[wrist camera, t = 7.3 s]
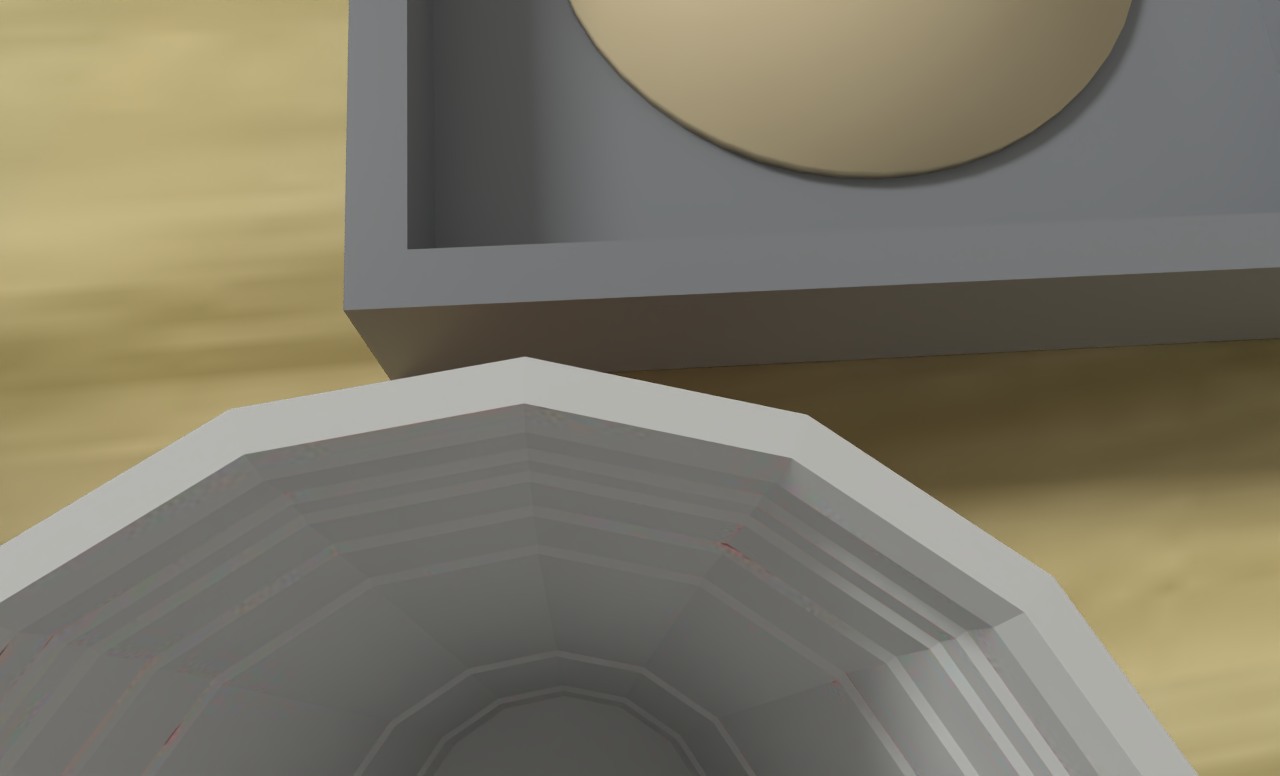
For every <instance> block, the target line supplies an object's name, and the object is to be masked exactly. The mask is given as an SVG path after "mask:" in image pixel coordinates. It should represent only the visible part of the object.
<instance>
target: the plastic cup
mask: <svg viewBox="0 0 1280 776" xmlns="http://www.w3.org/2000/svg"><path fill="white" fill-rule="evenodd" d="M0 776H1198V774H1197V773H1196V772H1195V770H1194V769H1193V768H1192V766H1191V765H1190V763H1189V762H1188V761H1187V759H1186V758H1185V757H1184V755H1183V754H1182V752H1181V751H1180V750H1179V748H1178V747H1177V746H1176V744H1175V743H1174V741H1173V740H1172V739H1171V737H1170V736H1169V735H1168V733H1167V732H1166V731H1165V729H1164V728H1163V726H1162V725H1161V724H1160V722H1159V721H1158V720H1157V718H1156V717H1155V715H1154V714H1153V713H1152V711H1151V710H1150V709H1149V707H1148V706H1147V704H1146V703H1145V702H1144V700H1143V699H1142V698H1141V696H1140V695H1139V693H1138V692H1137V691H1136V689H1135V688H1134V687H1133V685H1132V684H1131V682H1130V681H1129V680H1128V678H1127V677H1126V676H1125V674H1124V673H1123V671H1122V670H1121V669H1120V667H1119V666H1118V665H1117V663H1116V662H1115V660H1114V659H1113V658H1112V656H1111V655H1110V654H1109V652H1108V651H1107V650H1106V648H1105V647H1104V645H1103V644H1102V643H1101V641H1100V640H1099V639H1098V637H1097V636H1096V634H1095V633H1094V632H1093V630H1092V629H1091V628H1090V626H1089V625H1088V623H1087V622H1086V621H1085V619H1084V618H1083V617H1082V615H1081V614H1080V612H1079V611H1078V610H1077V608H1076V607H1075V606H1074V604H1073V603H1072V601H1071V600H1070V599H1069V597H1068V596H1067V595H1066V593H1065V592H1064V590H1063V589H1062V588H1061V586H1060V585H1059V584H1058V582H1057V581H1056V579H1055V578H1054V577H1053V576H1052V575H1050V574H1049V573H1047V572H1046V571H1044V570H1043V569H1041V568H1039V567H1038V566H1036V565H1035V564H1033V563H1032V562H1030V561H1029V560H1027V559H1026V558H1024V557H1023V556H1021V555H1020V554H1018V553H1017V552H1015V551H1014V550H1012V549H1011V548H1009V547H1008V546H1006V545H1005V544H1003V543H1001V542H1000V541H998V540H997V539H995V538H994V537H992V536H991V535H989V534H988V533H986V532H985V531H983V530H982V529H980V528H979V527H977V526H976V525H974V524H973V523H971V522H970V521H968V520H967V519H965V518H963V517H962V516H960V515H959V514H957V513H956V512H954V511H953V510H951V509H950V508H948V507H947V506H945V505H944V504H942V503H941V502H939V501H938V500H936V499H935V498H933V497H932V496H930V495H929V494H927V493H925V492H924V491H922V490H921V489H919V488H918V487H916V486H915V485H913V484H912V483H910V482H909V481H907V480H906V479H904V478H903V477H901V476H900V475H898V474H897V473H895V472H894V471H892V470H891V469H889V468H887V467H886V466H884V465H883V464H881V463H880V462H878V461H877V460H875V459H874V458H872V457H871V456H869V455H868V454H866V453H865V452H863V451H862V450H860V449H859V448H857V447H856V446H854V445H853V444H851V443H849V442H848V441H846V440H845V439H843V438H842V437H840V436H839V435H837V434H836V433H834V432H833V431H831V430H830V429H828V428H827V427H825V426H824V425H822V424H821V423H819V422H818V421H816V420H815V419H813V418H811V417H810V416H808V415H806V414H801V413H796V412H792V411H787V410H782V409H777V408H772V407H767V406H762V405H758V404H753V403H748V402H743V401H738V400H733V399H728V398H724V397H719V396H714V395H709V394H704V393H699V392H695V391H690V390H685V389H680V388H675V387H670V386H665V385H661V384H656V383H651V382H646V381H641V380H636V379H631V378H627V377H622V376H617V375H612V374H607V373H602V372H598V371H593V370H588V369H583V368H578V367H573V366H568V365H564V364H559V363H554V362H549V361H544V360H539V359H535V358H530V357H520V358H515V359H509V360H503V361H498V362H492V363H486V364H481V365H475V366H470V367H464V368H458V369H453V370H447V371H441V372H436V373H430V374H425V375H419V376H413V377H408V378H402V379H396V380H391V381H385V382H380V383H374V384H368V385H363V386H357V387H351V388H346V389H340V390H334V391H329V392H323V393H318V394H312V395H306V396H301V397H295V398H289V399H284V400H278V401H273V402H267V403H261V404H256V405H250V406H244V407H239V408H233V409H229V410H227V411H225V412H224V413H222V414H220V415H219V416H217V417H215V418H214V419H212V420H210V421H209V422H207V423H205V424H204V425H202V426H200V427H199V428H197V429H195V430H194V431H192V432H190V433H189V434H187V435H185V436H184V437H182V438H180V439H179V440H177V441H175V442H173V443H172V444H170V445H168V446H167V447H165V448H163V449H162V450H160V451H158V452H157V453H155V454H153V455H152V456H150V457H148V458H147V459H145V460H143V461H142V462H140V463H138V464H137V465H135V466H133V467H132V468H130V469H128V470H127V471H125V472H123V473H121V474H120V475H118V476H116V477H115V478H113V479H111V480H110V481H108V482H106V483H105V484H103V485H101V486H100V487H98V488H96V489H95V490H93V491H91V492H90V493H88V494H86V495H85V496H83V497H81V498H80V499H78V500H76V501H75V502H73V503H71V504H70V505H68V506H66V507H64V508H63V509H61V510H59V511H58V512H56V513H54V514H53V515H51V516H49V517H48V518H46V519H44V520H43V521H41V522H39V523H38V524H36V525H34V526H33V527H31V528H29V529H28V530H26V531H24V532H23V533H21V534H19V535H18V536H16V537H14V538H13V539H11V540H9V541H7V542H6V543H4V544H2V545H1V546H0Z"/></svg>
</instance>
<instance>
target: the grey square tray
mask: <svg viewBox="0 0 1280 776" xmlns="http://www.w3.org/2000/svg"><path fill="white" fill-rule="evenodd" d="M343 310H344V312H345V313H346V315H347V316H348V318H349V319H350V321H351V322H352V324H353V325H354V327H355V328H356V330H357V331H358V333H359V334H360V335H361V337H362V338H363V340H364V341H365V343H366V344H367V346H368V347H369V349H370V350H371V352H372V353H373V355H374V356H375V358H376V359H377V361H378V362H379V364H380V365H381V367H382V368H383V369H384V371H385V372H386V374H387V375H388V377H389V378H390V380H396V379H402V378H408V377H413V376H419V375H425V374H430V373H436V372H441V371H447V370H453V369H458V368H464V367H470V366H475V365H481V364H486V363H492V362H498V361H503V360H509V359H515V358H520V357H530V358H535V359H539V360H544V361H549V362H554V363H559V364H564V365H568V366H573V367H578V368H583V369H588V370H593V371H598V372H620V371H640V370H659V369H679V368H699V367H719V366H738V365H758V364H778V363H798V362H817V361H837V360H857V359H876V358H896V357H916V356H936V355H955V354H975V353H995V352H1015V351H1034V350H1054V349H1074V348H1094V347H1113V346H1133V345H1153V344H1173V343H1192V342H1212V341H1232V340H1252V339H1271V338H1280V0H349V30H348V85H347V141H346V197H345V252H344V308H343Z"/></svg>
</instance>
